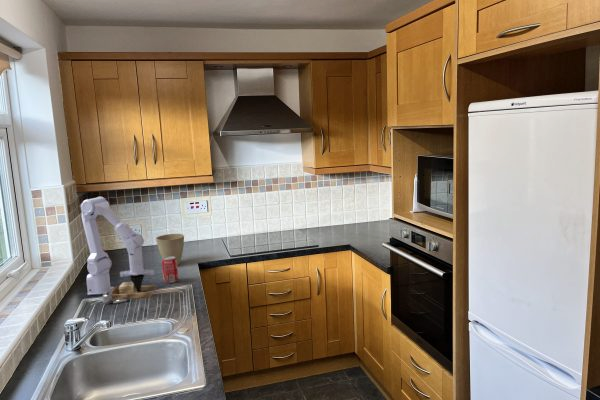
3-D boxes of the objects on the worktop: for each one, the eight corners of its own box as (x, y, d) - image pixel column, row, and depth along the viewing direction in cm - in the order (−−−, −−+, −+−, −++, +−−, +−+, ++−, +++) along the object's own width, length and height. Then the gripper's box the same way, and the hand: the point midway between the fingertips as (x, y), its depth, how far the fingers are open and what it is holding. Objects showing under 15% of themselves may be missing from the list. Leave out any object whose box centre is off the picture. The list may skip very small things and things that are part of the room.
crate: (119, 297, 202) (118, 287, 202) (123, 292, 208) (122, 282, 208) (133, 296, 203) (132, 286, 202) (137, 291, 209) (136, 281, 208)
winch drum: (102, 304, 195) (101, 293, 194) (105, 300, 199) (104, 290, 198) (111, 303, 196) (110, 293, 195) (114, 300, 200) (113, 289, 199)
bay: (109, 299, 200) (108, 293, 200) (116, 291, 210) (115, 285, 210) (151, 297, 202) (150, 290, 201) (156, 289, 212) (155, 283, 211)
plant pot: (188, 260, 258) (186, 232, 255) (183, 268, 243) (181, 239, 240) (161, 261, 257) (159, 234, 254) (155, 269, 242) (152, 240, 239)
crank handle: (113, 304, 195) (112, 298, 195) (113, 303, 196) (112, 297, 196) (129, 301, 198) (129, 296, 197) (129, 300, 199) (129, 294, 199)
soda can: (172, 278, 227) (171, 255, 225) (181, 280, 222) (179, 257, 220) (160, 282, 221) (158, 258, 220) (169, 284, 217) (167, 260, 215)
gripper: (116, 265, 199) (119, 294, 201) (150, 263, 200) (153, 292, 203) (121, 260, 206) (124, 289, 208) (154, 258, 207) (156, 287, 210)
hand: (138, 290), depth 206 cm, fingers closed
